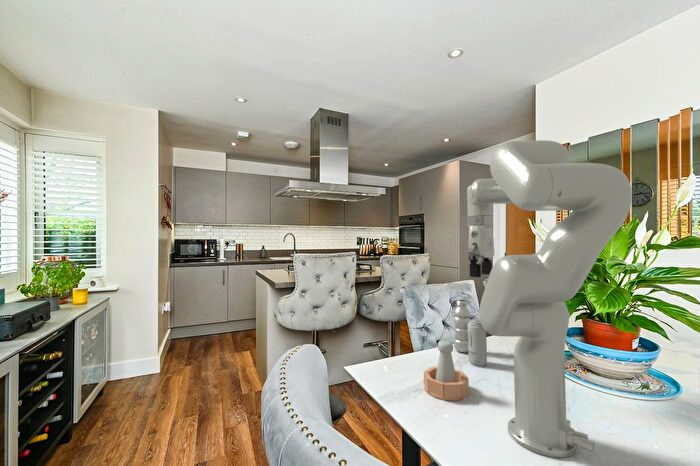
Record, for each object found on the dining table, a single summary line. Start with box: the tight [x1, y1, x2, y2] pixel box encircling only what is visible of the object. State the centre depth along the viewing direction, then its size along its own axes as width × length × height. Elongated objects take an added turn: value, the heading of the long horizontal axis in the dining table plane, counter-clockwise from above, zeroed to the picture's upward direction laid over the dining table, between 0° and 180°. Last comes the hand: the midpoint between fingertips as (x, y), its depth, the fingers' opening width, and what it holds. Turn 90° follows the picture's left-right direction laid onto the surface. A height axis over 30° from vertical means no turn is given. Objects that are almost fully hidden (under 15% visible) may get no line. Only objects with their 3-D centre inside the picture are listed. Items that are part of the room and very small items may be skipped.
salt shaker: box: [436, 340, 457, 383], centre depth 87 cm, size 6×6×13 cm
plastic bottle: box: [452, 299, 472, 353], centre depth 118 cm, size 6×7×20 cm
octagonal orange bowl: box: [423, 366, 470, 402], centre depth 87 cm, size 12×12×4 cm
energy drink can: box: [467, 318, 488, 368], centre depth 106 cm, size 6×6×15 cm
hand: (481, 275), depth 96 cm, fingers open, 9 cm apart
